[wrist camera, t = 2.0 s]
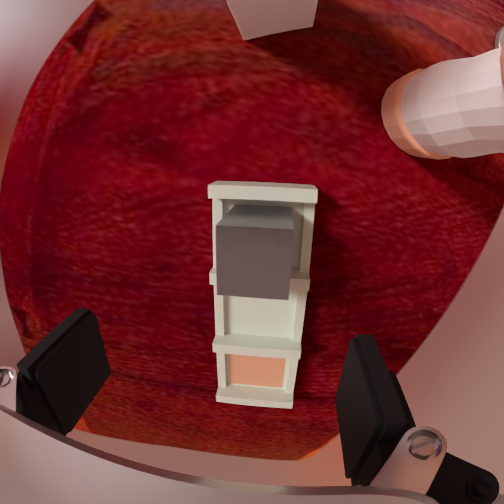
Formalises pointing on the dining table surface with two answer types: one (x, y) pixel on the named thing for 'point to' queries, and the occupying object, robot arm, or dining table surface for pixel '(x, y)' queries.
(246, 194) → the white compartment tray
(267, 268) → the tall gray pillar
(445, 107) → the pepper shaker
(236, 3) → the milk
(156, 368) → the dining table surface
